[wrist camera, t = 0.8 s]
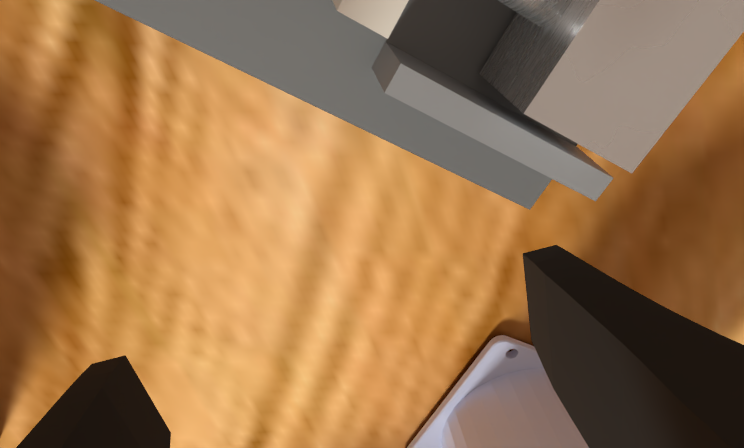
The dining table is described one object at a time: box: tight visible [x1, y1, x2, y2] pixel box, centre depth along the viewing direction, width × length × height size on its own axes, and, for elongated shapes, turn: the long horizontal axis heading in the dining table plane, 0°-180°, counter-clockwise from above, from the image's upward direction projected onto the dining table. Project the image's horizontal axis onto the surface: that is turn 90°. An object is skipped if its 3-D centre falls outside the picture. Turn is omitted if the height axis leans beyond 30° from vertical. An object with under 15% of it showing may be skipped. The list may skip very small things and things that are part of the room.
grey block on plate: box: [479, 0, 744, 173], centre depth 14 cm, size 6×5×4 cm
